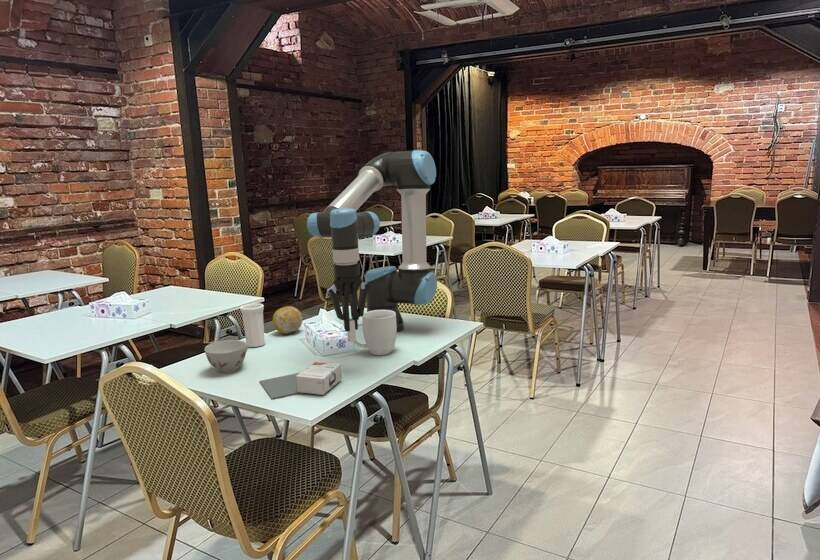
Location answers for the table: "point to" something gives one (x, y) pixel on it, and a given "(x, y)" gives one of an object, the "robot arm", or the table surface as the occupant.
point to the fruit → (287, 319)
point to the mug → (379, 331)
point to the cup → (253, 324)
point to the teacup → (226, 354)
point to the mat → (281, 386)
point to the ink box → (318, 378)
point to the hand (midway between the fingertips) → (352, 340)
